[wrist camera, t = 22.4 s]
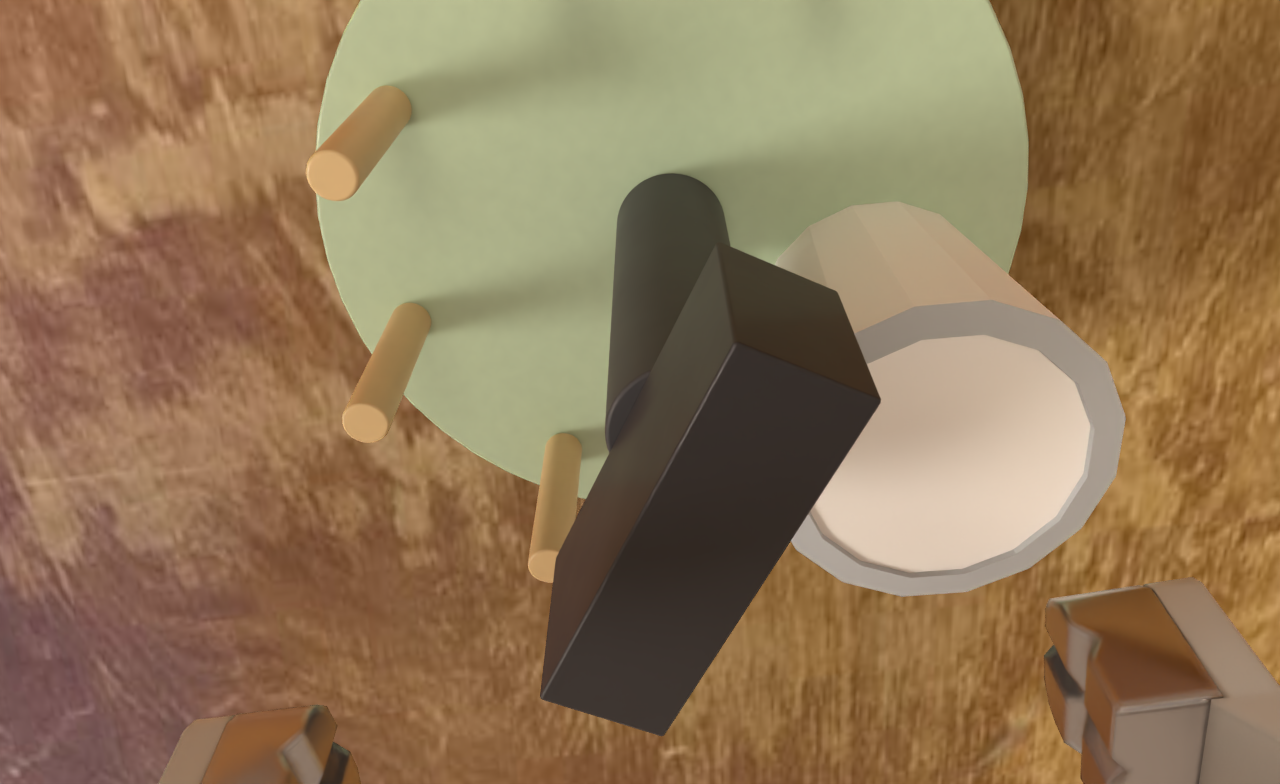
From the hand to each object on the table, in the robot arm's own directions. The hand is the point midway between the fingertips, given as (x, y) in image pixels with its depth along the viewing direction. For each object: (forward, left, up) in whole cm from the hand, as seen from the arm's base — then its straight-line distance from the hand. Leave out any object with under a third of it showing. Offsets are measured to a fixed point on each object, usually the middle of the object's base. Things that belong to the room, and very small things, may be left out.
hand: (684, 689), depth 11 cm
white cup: (+6, -1, -15) cm, 16 cm away
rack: (0, 0, -16) cm, 16 cm away
